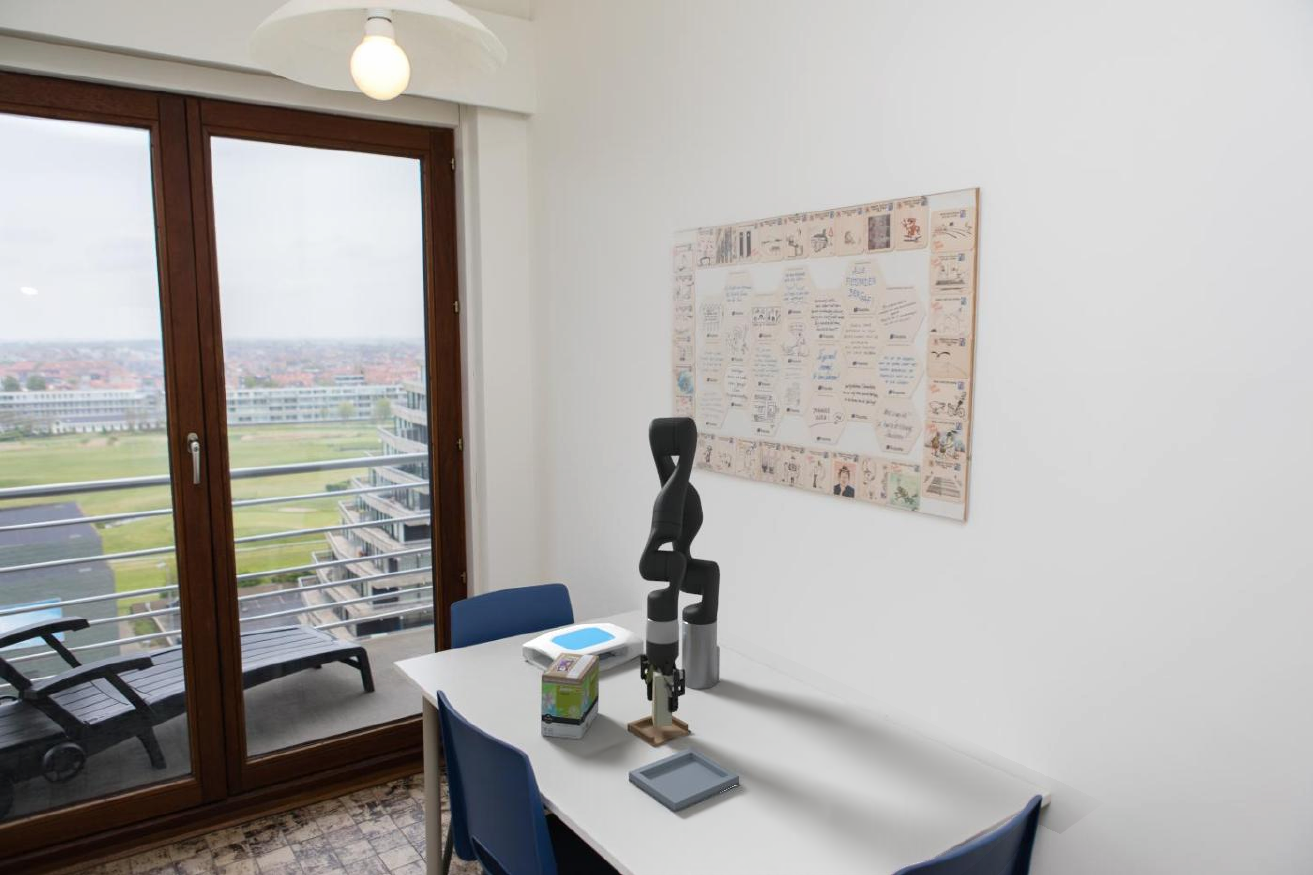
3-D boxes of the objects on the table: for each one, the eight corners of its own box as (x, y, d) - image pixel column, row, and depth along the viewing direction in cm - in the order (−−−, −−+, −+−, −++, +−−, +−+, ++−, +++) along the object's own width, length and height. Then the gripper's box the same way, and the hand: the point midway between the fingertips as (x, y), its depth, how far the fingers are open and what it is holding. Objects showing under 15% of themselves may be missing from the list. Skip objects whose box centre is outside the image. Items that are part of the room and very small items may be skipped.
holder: (664, 717, 204) (664, 711, 204) (691, 733, 196) (691, 726, 196) (627, 730, 197) (627, 723, 197) (653, 746, 189) (653, 739, 189)
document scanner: (521, 660, 240) (521, 639, 240) (600, 638, 259) (600, 618, 258) (564, 683, 225) (564, 660, 224) (644, 657, 243) (644, 636, 242)
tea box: (582, 740, 192) (581, 678, 190) (540, 736, 194) (539, 674, 192) (599, 712, 207) (599, 654, 205) (560, 708, 209) (559, 650, 207)
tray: (691, 756, 185) (691, 747, 185) (739, 784, 173) (739, 775, 173) (628, 781, 175) (628, 771, 174) (674, 813, 163) (674, 803, 163)
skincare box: (651, 715, 198) (651, 665, 197) (670, 714, 198) (670, 664, 197) (653, 727, 192) (653, 675, 190) (673, 726, 192) (673, 675, 191)
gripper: (695, 641, 189) (694, 712, 191) (656, 624, 201) (656, 691, 203) (669, 649, 185) (668, 721, 187) (630, 631, 196) (630, 699, 198)
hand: (662, 705), depth 195 cm, fingers closed on skincare box, 7 cm apart
